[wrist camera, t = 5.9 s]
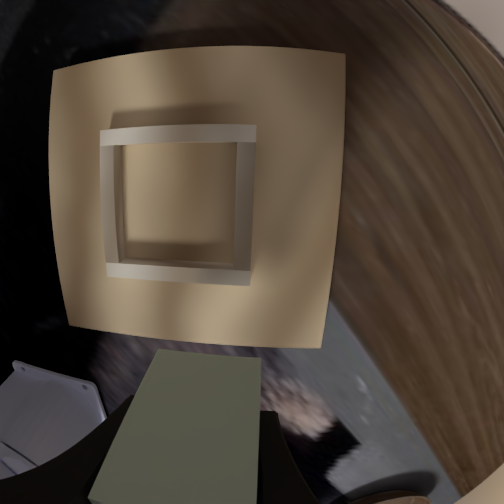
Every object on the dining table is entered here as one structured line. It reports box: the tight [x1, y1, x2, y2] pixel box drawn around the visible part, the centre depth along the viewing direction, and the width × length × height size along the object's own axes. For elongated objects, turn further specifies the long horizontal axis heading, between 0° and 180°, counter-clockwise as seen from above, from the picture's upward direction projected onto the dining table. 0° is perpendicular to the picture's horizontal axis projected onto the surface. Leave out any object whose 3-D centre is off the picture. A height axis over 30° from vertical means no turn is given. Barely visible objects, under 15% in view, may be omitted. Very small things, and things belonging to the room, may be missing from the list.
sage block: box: [88, 349, 261, 504], centre depth 9 cm, size 4×4×7 cm
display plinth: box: [49, 46, 346, 348], centre depth 16 cm, size 16×16×2 cm
